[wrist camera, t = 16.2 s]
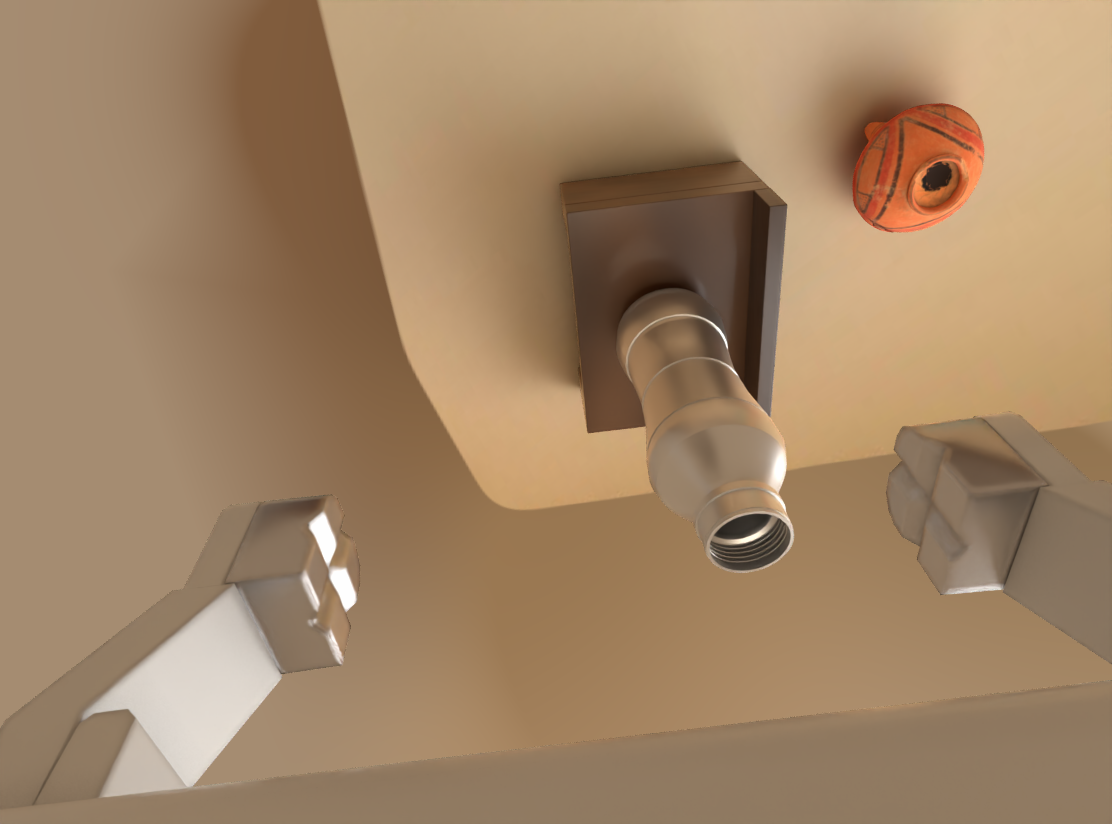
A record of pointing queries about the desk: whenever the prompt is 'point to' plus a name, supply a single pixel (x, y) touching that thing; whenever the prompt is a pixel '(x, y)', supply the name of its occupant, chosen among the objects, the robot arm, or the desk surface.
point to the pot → (917, 167)
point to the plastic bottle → (705, 430)
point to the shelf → (673, 270)
